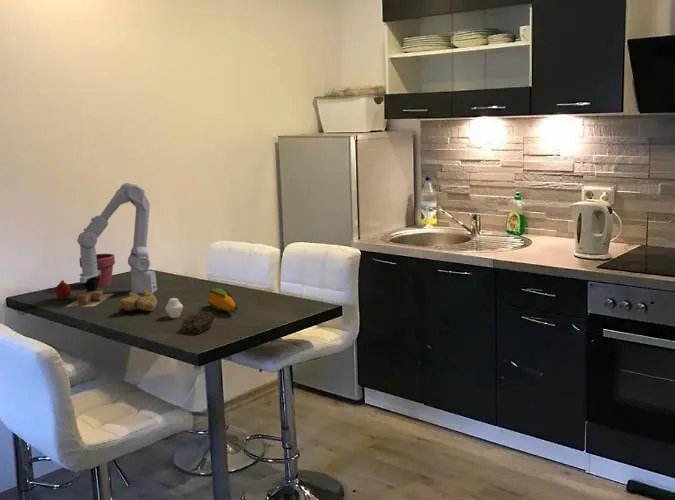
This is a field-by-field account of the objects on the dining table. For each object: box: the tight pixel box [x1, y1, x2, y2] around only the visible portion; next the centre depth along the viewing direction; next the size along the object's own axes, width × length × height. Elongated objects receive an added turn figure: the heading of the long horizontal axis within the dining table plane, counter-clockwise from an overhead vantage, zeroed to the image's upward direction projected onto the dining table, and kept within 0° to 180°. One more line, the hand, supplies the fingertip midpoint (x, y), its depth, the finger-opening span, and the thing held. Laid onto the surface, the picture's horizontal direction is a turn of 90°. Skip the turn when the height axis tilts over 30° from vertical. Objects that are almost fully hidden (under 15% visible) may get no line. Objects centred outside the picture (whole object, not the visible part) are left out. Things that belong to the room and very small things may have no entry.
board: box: [67, 293, 114, 307], centre depth 285 cm, size 11×19×1 cm, turn 174°
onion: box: [54, 280, 72, 300], centre depth 288 cm, size 6×6×8 cm
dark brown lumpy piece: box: [181, 311, 215, 334], centre depth 243 cm, size 12×10×5 cm
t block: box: [76, 290, 104, 305], centre depth 281 cm, size 9×8×4 cm
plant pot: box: [79, 253, 116, 288], centre depth 310 cm, size 14×14×13 cm
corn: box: [207, 288, 239, 312], centre depth 265 cm, size 7×8×20 cm
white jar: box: [164, 297, 184, 319], centre depth 258 cm, size 6×6×7 cm
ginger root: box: [118, 289, 158, 312], centre depth 269 cm, size 16×16×8 cm
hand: (92, 296), depth 286 cm, fingers closed
